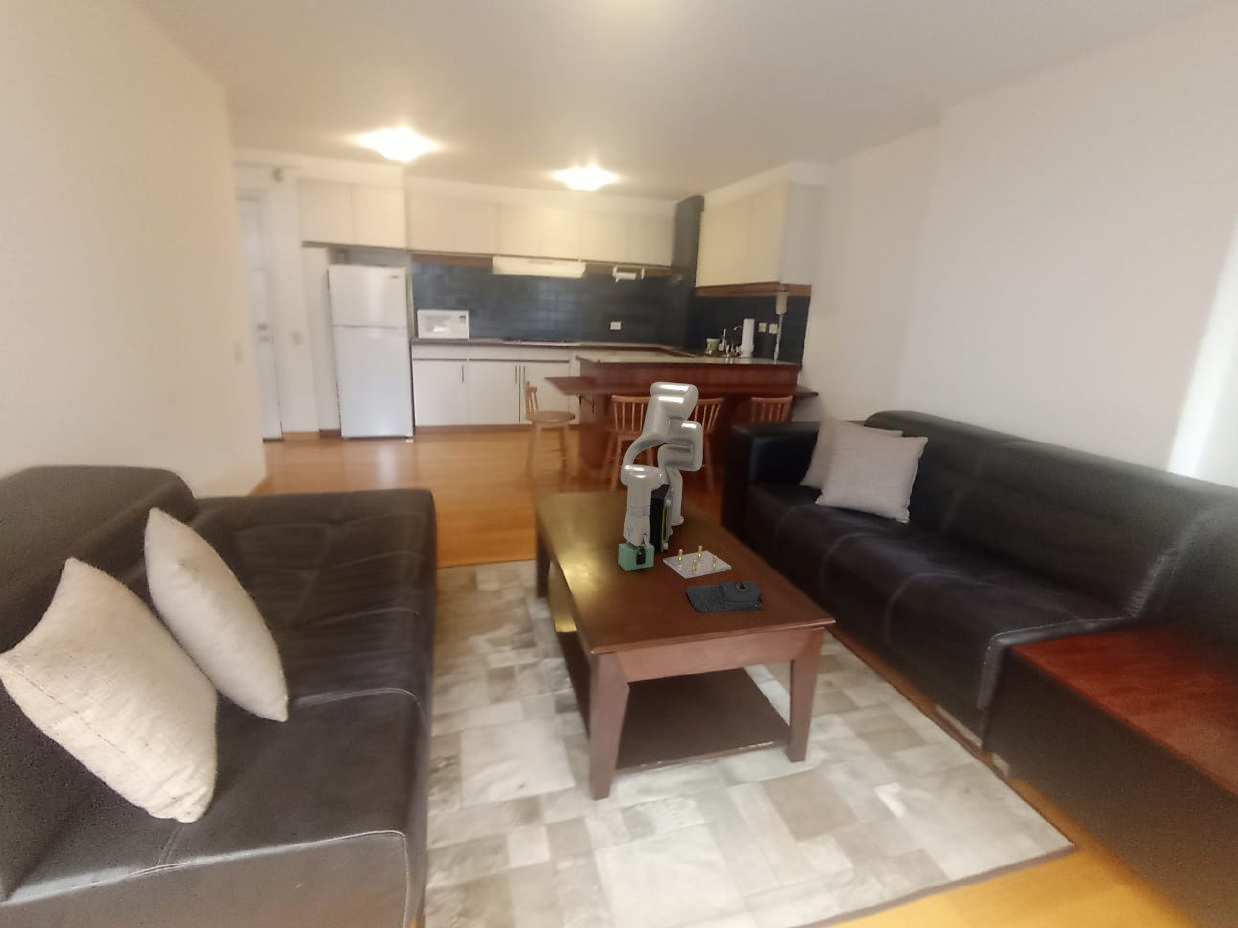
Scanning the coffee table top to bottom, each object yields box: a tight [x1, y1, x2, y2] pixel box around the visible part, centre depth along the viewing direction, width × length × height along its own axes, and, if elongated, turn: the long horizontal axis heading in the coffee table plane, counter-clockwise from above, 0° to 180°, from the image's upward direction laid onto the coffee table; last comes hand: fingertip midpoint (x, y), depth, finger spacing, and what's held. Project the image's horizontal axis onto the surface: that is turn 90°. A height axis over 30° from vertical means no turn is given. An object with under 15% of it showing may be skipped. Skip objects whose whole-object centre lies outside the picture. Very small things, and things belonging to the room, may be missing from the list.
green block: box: [617, 542, 655, 572], centre depth 192 cm, size 6×10×8 cm, turn 114°
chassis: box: [662, 545, 732, 579], centre depth 193 cm, size 14×18×4 cm
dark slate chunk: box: [685, 579, 765, 614], centre depth 172 cm, size 15×22×5 cm
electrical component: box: [649, 484, 675, 554], centre depth 209 cm, size 18×10×20 cm, turn 168°
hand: (635, 559), depth 192 cm, fingers closed on green block, 6 cm apart
